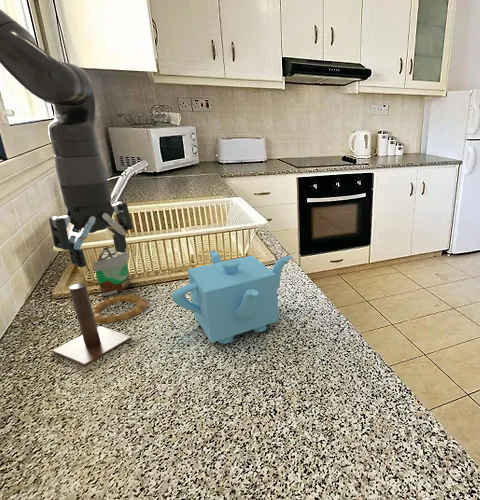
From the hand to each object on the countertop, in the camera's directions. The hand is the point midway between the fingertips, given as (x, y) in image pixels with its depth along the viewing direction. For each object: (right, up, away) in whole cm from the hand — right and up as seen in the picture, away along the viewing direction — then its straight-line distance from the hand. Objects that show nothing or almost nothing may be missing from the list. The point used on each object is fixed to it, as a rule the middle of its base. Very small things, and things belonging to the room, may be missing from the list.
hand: (101, 258), depth 76 cm
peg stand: (+2, -17, -6) cm, 18 cm away
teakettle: (+27, -14, +4) cm, 31 cm away
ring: (-1, -11, +6) cm, 13 cm away
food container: (-7, -8, +17) cm, 20 cm away
